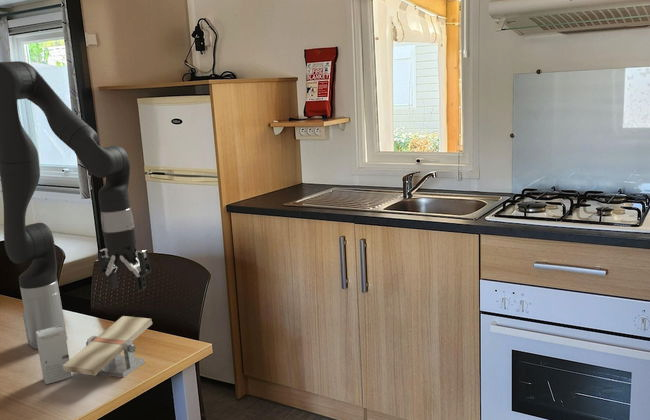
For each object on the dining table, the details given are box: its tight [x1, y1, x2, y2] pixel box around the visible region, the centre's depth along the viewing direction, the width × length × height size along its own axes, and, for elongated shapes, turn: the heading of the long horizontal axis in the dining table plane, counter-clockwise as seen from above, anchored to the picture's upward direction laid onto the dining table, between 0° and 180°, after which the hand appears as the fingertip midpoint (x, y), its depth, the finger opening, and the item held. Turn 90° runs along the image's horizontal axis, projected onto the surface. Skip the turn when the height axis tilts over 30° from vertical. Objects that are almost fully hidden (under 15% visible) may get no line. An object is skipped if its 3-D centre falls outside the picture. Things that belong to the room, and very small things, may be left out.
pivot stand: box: [85, 335, 146, 378], centre depth 151 cm, size 14×8×7 cm, turn 68°
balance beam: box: [63, 315, 153, 376], centre depth 150 cm, size 9×22×2 cm, turn 158°
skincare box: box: [36, 326, 73, 385], centre depth 147 cm, size 6×4×12 cm
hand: (128, 289), depth 156 cm, fingers open, 8 cm apart
